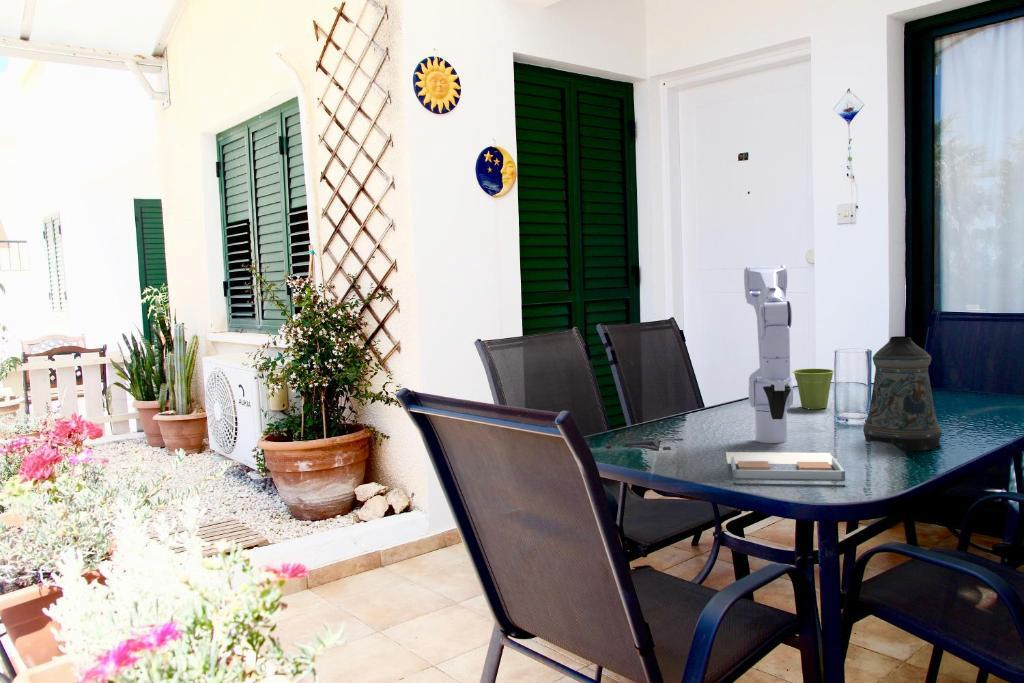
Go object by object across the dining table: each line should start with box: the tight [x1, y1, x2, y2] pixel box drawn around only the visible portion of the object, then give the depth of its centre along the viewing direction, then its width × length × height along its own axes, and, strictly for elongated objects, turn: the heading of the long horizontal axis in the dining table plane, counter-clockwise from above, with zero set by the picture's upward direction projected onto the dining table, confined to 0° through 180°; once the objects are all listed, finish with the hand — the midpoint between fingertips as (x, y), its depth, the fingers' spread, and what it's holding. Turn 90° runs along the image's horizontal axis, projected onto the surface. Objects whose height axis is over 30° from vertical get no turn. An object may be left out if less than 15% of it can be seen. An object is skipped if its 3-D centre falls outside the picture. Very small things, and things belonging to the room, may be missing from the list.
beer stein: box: [862, 335, 943, 451], centre depth 188 cm, size 16×19×25 cm
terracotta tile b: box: [796, 462, 833, 471], centre depth 162 cm, size 5×6×2 cm
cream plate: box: [725, 451, 834, 466], centre depth 172 cm, size 11×22×2 cm, turn 77°
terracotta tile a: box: [737, 461, 771, 470], centre depth 164 cm, size 5×6×2 cm
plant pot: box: [792, 367, 835, 410], centre depth 240 cm, size 12×12×11 cm
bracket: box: [624, 438, 684, 452], centre depth 192 cm, size 14×15×3 cm
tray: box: [730, 457, 846, 488], centre depth 161 cm, size 12×21×3 cm, turn 77°
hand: (777, 418), depth 175 cm, fingers closed
